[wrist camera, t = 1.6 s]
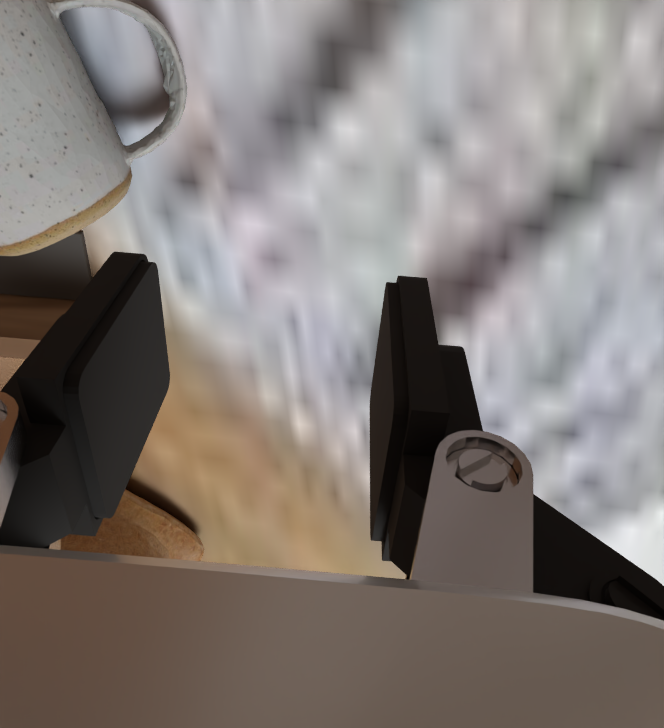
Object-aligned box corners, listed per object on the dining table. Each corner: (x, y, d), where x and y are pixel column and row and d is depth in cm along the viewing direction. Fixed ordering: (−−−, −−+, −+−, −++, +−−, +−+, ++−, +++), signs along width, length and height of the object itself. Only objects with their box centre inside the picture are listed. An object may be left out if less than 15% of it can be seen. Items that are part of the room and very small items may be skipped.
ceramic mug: (34, 216, 29) (-52, 293, 23) (-89, 40, 25) (-237, 76, 19) (228, 138, 27) (190, 201, 21) (129, -73, 22) (43, -74, 16)
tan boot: (247, 524, 42) (199, 763, 30) (148, 587, 48) (73, 812, 35) (61, 400, 36) (-92, 637, 24) (-30, 487, 41) (-193, 719, 29)
